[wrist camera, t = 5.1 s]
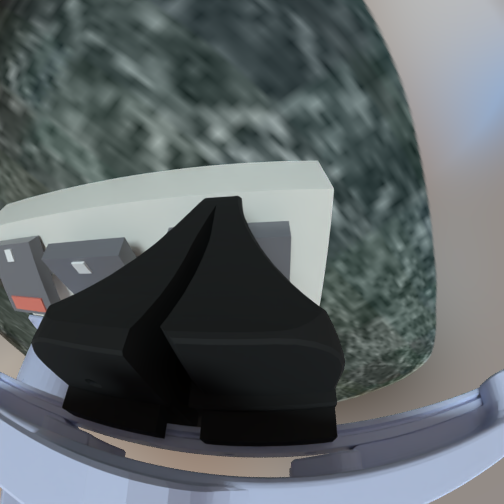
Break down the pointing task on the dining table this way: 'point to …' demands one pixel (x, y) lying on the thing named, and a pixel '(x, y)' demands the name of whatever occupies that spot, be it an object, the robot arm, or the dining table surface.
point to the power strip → (186, 210)
